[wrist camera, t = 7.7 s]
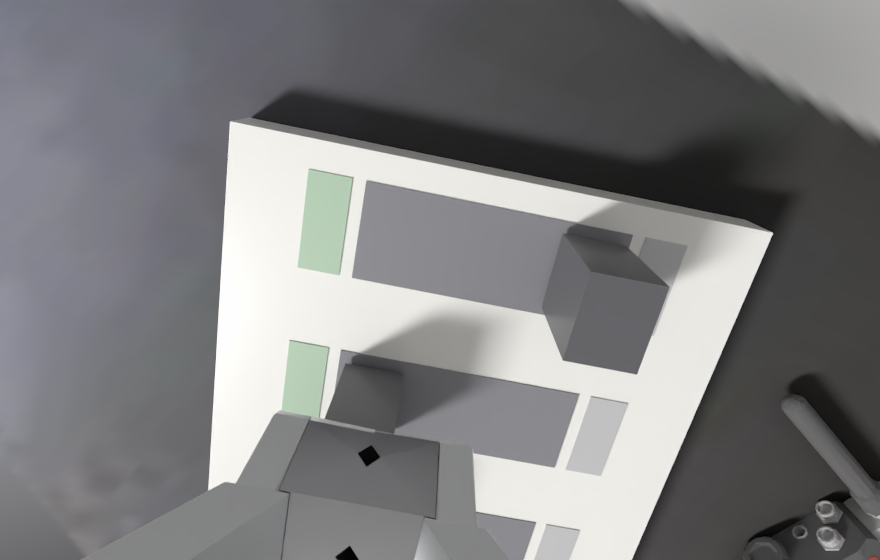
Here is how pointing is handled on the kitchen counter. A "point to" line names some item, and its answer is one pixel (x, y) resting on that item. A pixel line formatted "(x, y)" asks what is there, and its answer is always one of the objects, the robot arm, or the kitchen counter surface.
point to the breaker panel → (466, 324)
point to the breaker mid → (366, 398)
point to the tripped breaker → (602, 304)
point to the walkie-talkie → (827, 504)
